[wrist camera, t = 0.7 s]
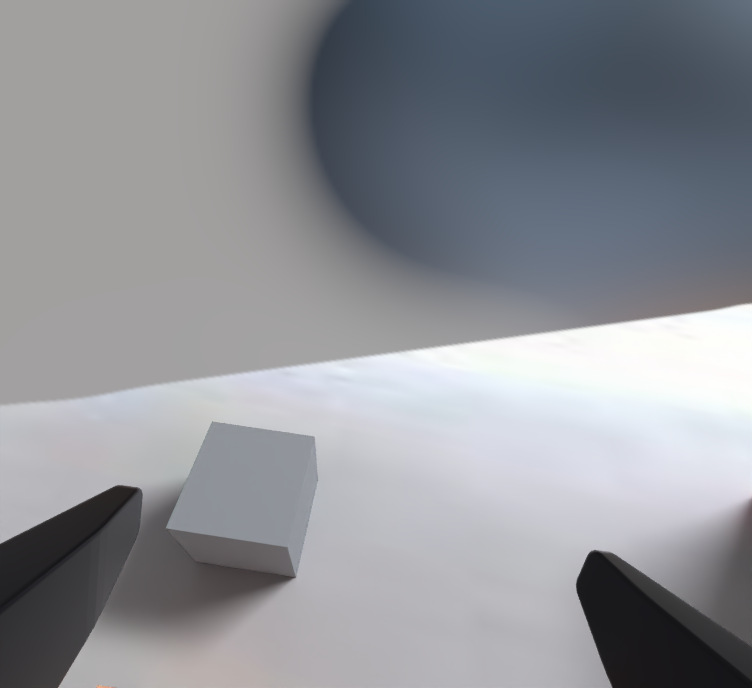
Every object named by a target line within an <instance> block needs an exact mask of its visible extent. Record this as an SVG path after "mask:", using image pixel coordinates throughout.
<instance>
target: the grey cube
mask: <svg viewBox="0 0 752 688" xmlns="http://www.w3.org/2000/svg"><path fill="white" fill-rule="evenodd" d="M317 481H318V476H317V462H316V448H315V437H313V436H306V435H300V434H293V433H286V432H279V431H272V430H266V429H259V428H252V427H245V426H239V425H232V424H225V423H218V422H212V423H211V425H210V428H209V430H208V432H207V434H206V437H205V439H204V441H203V444H202V446H201V448H200V450H199V453H198V455H197V457H196V460H195V462H194V464H193V467H192V469H191V471H190V473H189V476H188V478H187V480H186V483H185V485H184V487H183V489H182V492H181V494H180V496H179V499H178V501H177V503H176V506H175V508H174V510H173V512H172V515H171V517H170V519H169V522H168V524H167V526H166V529H167V530H168V531H169V533H170V534H171V535H172V536H173V537H174V538H175V539H176V540H177V542H178V543H179V544H180V545H181V546H182V547H183V548H184V549H185V550H186V552H187V553H188V554H189V555H190V556H191V557H192V558H193V559H194V561H195V562H201V563H207V564H214V565H220V566H226V567H233V568H239V569H245V570H252V571H258V572H265V573H271V574H277V575H284V576H290V577H296V575H297V571H298V566H299V562H300V557H301V553H302V548H303V544H304V539H305V535H306V530H307V526H308V521H309V517H310V512H311V508H312V503H313V499H314V495H315V490H316V486H317Z"/></svg>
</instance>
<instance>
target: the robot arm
mask: <svg viewBox="0 0 752 688" xmlns="http://www.w3.org/2000/svg"><path fill="white" fill-rule="evenodd" d="M142 496H143V494H142V490H141V489H140V488H138V487H131V486H123V485H117V486H115V487H112V488H110V489H108V490H106V491H104V492H102V493H100V494H98V495H96V496H94V497H92V498H90V499H88V500H86V501H84V502H82V503H80V504H78V505H76V506H75V507H73V508H71V509H69V510H67V511H65V512H63V513H61V514H59V515H57V516H55V517H53V518H51V519H49V520H47V521H45V522H43V523H41V524H39V525H37V526H35V527H33V528H31V529H29V530H27V531H25V532H23V533H21V534H19V535H17V536H15V537H13V538H11V539H9V540H7V541H5V542H3V543H1V544H0V688H58V687H59V685H60V683H61V682H62V680H63V678H64V677H65V675H66V673H67V672H68V670H69V668H70V667H71V665H72V663H73V662H74V660H75V658H76V657H77V655H78V653H79V652H80V650H81V648H82V647H83V645H84V643H85V642H86V640H87V638H88V637H89V635H90V633H91V631H92V629H93V628H94V626H95V624H96V622H97V620H98V618H99V616H100V614H101V612H102V610H103V608H104V606H105V603H106V601H107V599H108V597H109V595H110V593H111V591H112V589H113V586H114V584H115V582H116V580H117V578H118V576H119V574H120V572H121V570H122V567H123V565H124V563H125V561H126V559H127V557H128V555H129V553H130V551H131V548H132V546H133V544H134V542H135V540H136V537H137V535H138V531H139V527H140V518H141V507H142ZM576 589H577V594H578V597H579V600H580V602H581V605H582V608H583V611H584V614H585V616H586V619H587V622H588V625H589V627H590V630H591V633H592V636H593V639H594V641H595V644H596V647H597V650H598V652H599V655H600V658H601V661H602V663H603V666H604V669H605V671H606V674H607V676H608V678H609V681H610V683H611V685H612V688H752V647H751V646H750V645H748V644H747V643H745V642H744V641H742V640H741V639H739V638H738V637H736V636H735V635H733V634H732V633H730V632H729V631H727V630H726V629H724V628H723V627H721V626H720V625H718V624H717V623H716V622H714V621H713V620H711V619H710V618H708V617H707V616H705V615H704V614H702V613H701V612H699V611H698V610H696V609H695V608H693V607H692V606H690V605H689V604H687V603H686V602H684V601H683V600H682V599H680V598H679V597H677V596H676V595H674V594H673V593H671V592H670V591H668V590H667V589H665V588H664V587H662V586H661V585H659V584H658V583H656V582H655V581H653V580H652V579H650V578H649V577H647V576H646V575H645V574H643V573H642V572H640V571H639V570H637V569H636V568H634V567H633V566H631V565H630V564H628V563H627V562H625V561H624V560H622V559H621V558H619V557H618V556H616V555H615V554H613V553H611V552H606V551H599V550H593V551H591V552H590V553H589V554H588V556H587V558H586V560H585V562H584V565H583V567H582V569H581V572H580V574H579V576H578V579H577V583H576Z"/></svg>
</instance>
